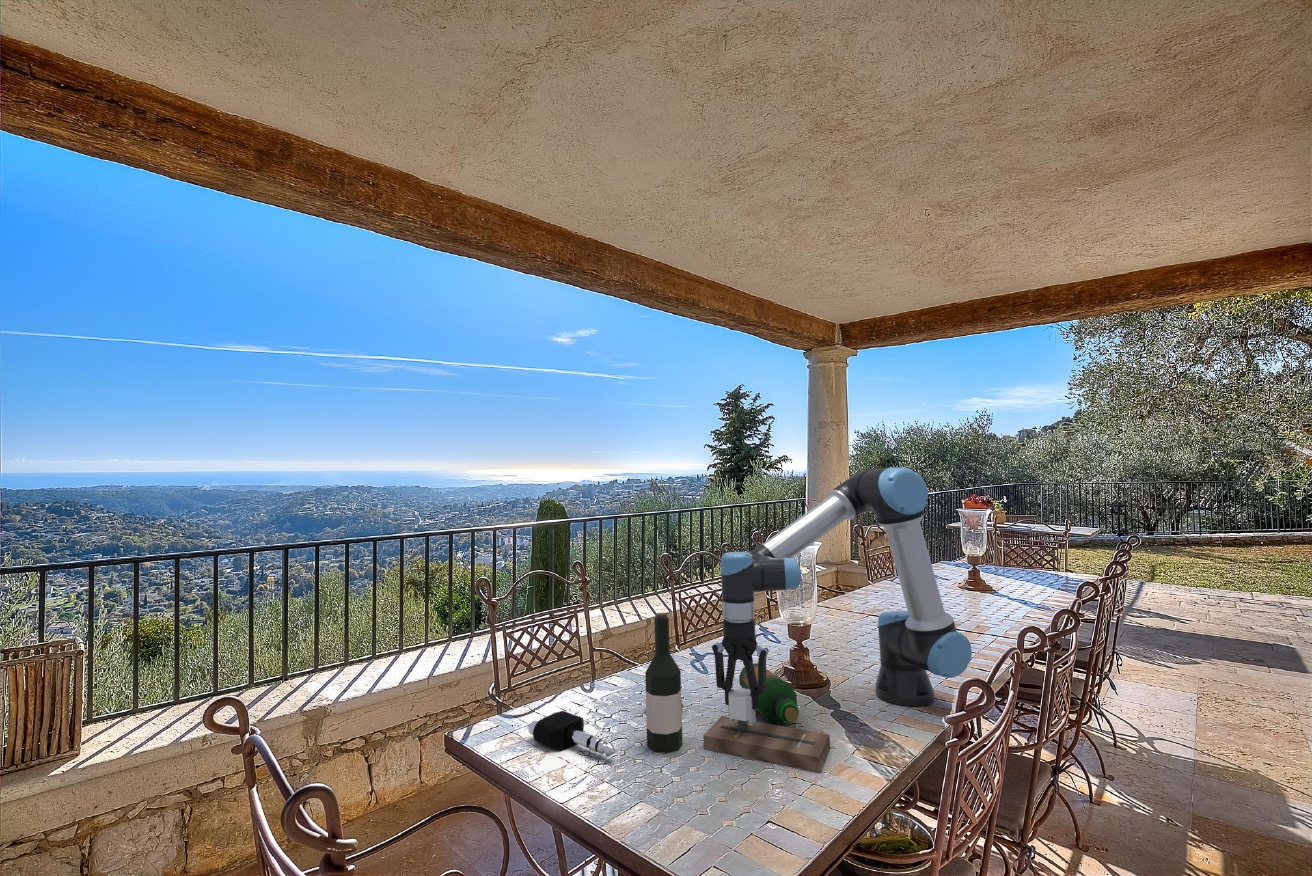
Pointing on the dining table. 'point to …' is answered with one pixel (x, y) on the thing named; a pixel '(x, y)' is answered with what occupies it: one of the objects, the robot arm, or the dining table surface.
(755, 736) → the fader board
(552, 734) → the audio adapter
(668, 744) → the wine bottle
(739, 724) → the fader knob
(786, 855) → the dining table surface
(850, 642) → the dining table surface
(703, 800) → the dining table surface
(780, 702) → the bottle
